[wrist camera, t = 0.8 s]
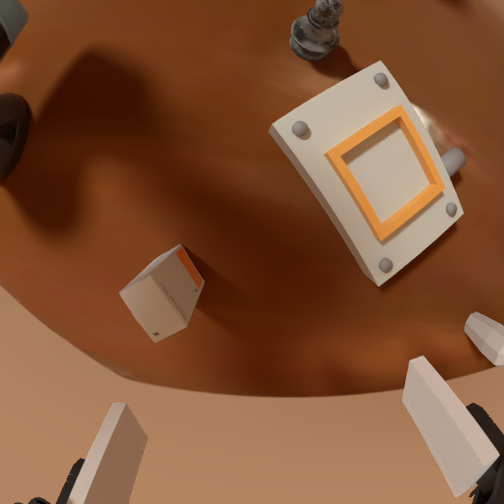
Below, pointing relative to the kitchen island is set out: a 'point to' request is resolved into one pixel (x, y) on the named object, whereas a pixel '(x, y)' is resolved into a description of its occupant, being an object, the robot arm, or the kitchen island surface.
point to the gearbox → (373, 169)
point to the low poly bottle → (487, 337)
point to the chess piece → (317, 30)
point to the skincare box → (164, 294)
